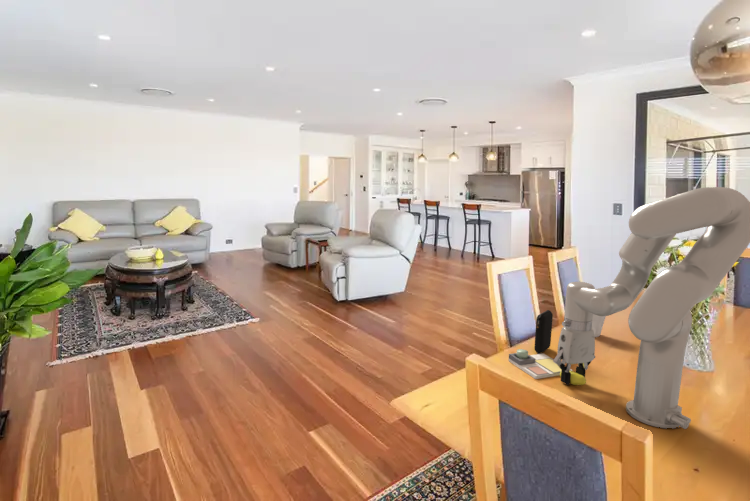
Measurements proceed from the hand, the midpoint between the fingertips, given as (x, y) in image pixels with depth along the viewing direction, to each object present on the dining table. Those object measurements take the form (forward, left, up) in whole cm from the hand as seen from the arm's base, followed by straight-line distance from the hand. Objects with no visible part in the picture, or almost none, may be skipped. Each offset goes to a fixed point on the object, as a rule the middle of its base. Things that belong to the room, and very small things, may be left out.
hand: (572, 381), depth 129 cm
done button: (+16, +6, +2) cm, 18 cm away
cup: (+32, -38, -1) cm, 50 cm away
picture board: (+12, +2, -1) cm, 13 cm away
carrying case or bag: (+23, -7, -1) cm, 24 cm away
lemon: (0, 0, -1) cm, 1 cm away
